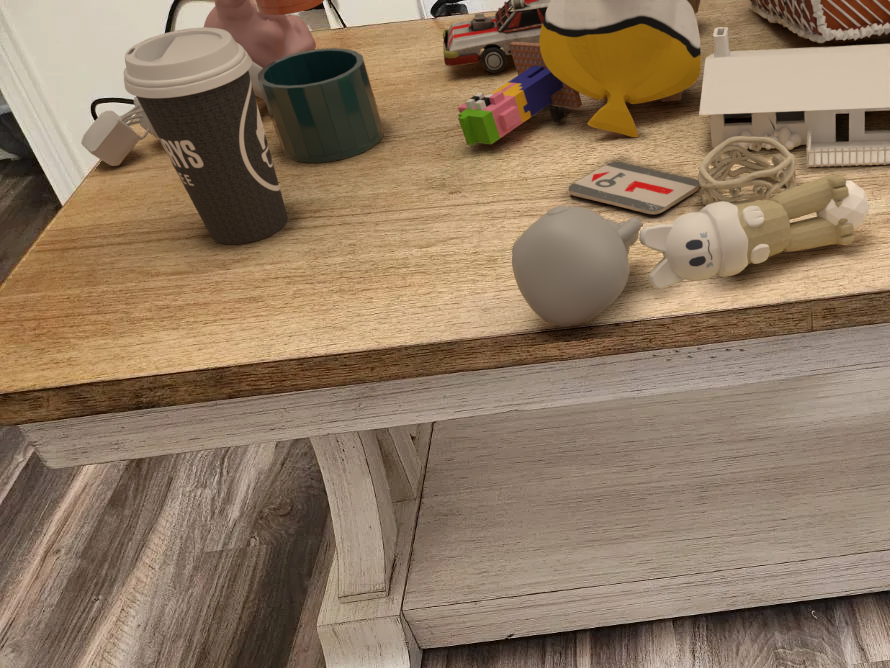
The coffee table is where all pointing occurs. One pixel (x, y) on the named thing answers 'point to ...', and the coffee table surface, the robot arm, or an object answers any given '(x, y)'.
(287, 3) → the cup
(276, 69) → the teal round container
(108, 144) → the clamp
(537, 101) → the figurine
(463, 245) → the coffee table surface
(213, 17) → the figurine
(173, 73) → the coffee cup
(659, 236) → the rabbit figurine
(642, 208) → the token
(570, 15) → the fish
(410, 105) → the coffee table surface
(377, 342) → the coffee table surface
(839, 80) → the house
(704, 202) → the bracelet
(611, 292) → the figurine
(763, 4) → the gingerbread house
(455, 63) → the toy car
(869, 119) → the coffee table surface
